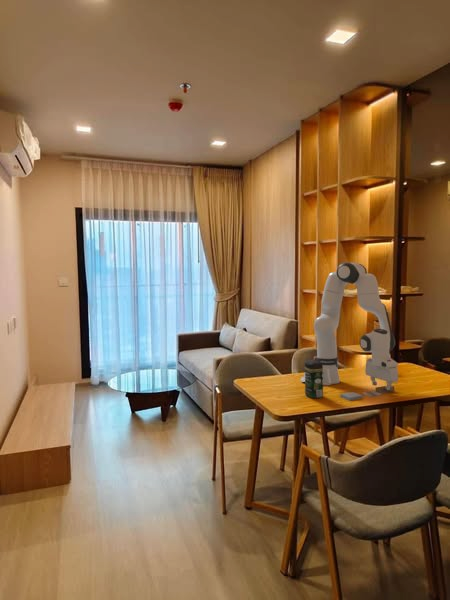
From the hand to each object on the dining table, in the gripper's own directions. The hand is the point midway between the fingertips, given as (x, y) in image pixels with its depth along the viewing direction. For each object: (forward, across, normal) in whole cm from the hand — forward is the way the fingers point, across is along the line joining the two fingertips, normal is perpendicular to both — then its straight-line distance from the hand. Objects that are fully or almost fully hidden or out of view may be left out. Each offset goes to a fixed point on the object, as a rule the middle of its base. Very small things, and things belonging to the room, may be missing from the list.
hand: (381, 387), depth 210 cm
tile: (+1, 0, -15) cm, 15 cm away
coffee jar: (+3, -10, -34) cm, 35 cm away
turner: (+3, 0, -1) cm, 3 cm away
